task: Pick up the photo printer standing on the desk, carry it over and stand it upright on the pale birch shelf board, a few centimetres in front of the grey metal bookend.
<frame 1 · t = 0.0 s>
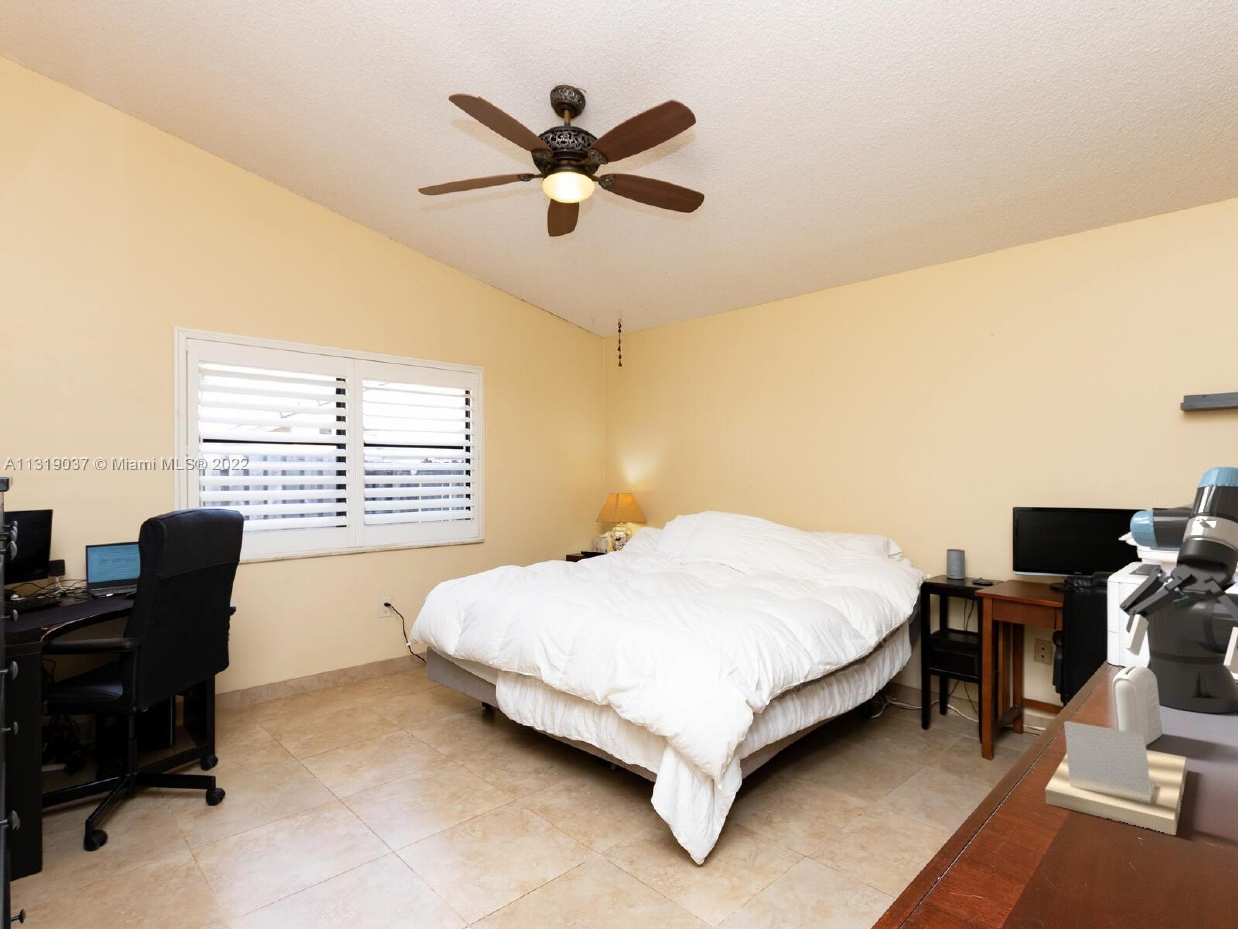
hand: (1178, 660, 104), 15 cm above the table, tool tilted 35°, fingers open, 13 cm apart
bookend: (1111, 807, 89), resting on shelf board
shelf board: (1119, 786, 94), on the table
photo printer: (1140, 740, 110), on the table
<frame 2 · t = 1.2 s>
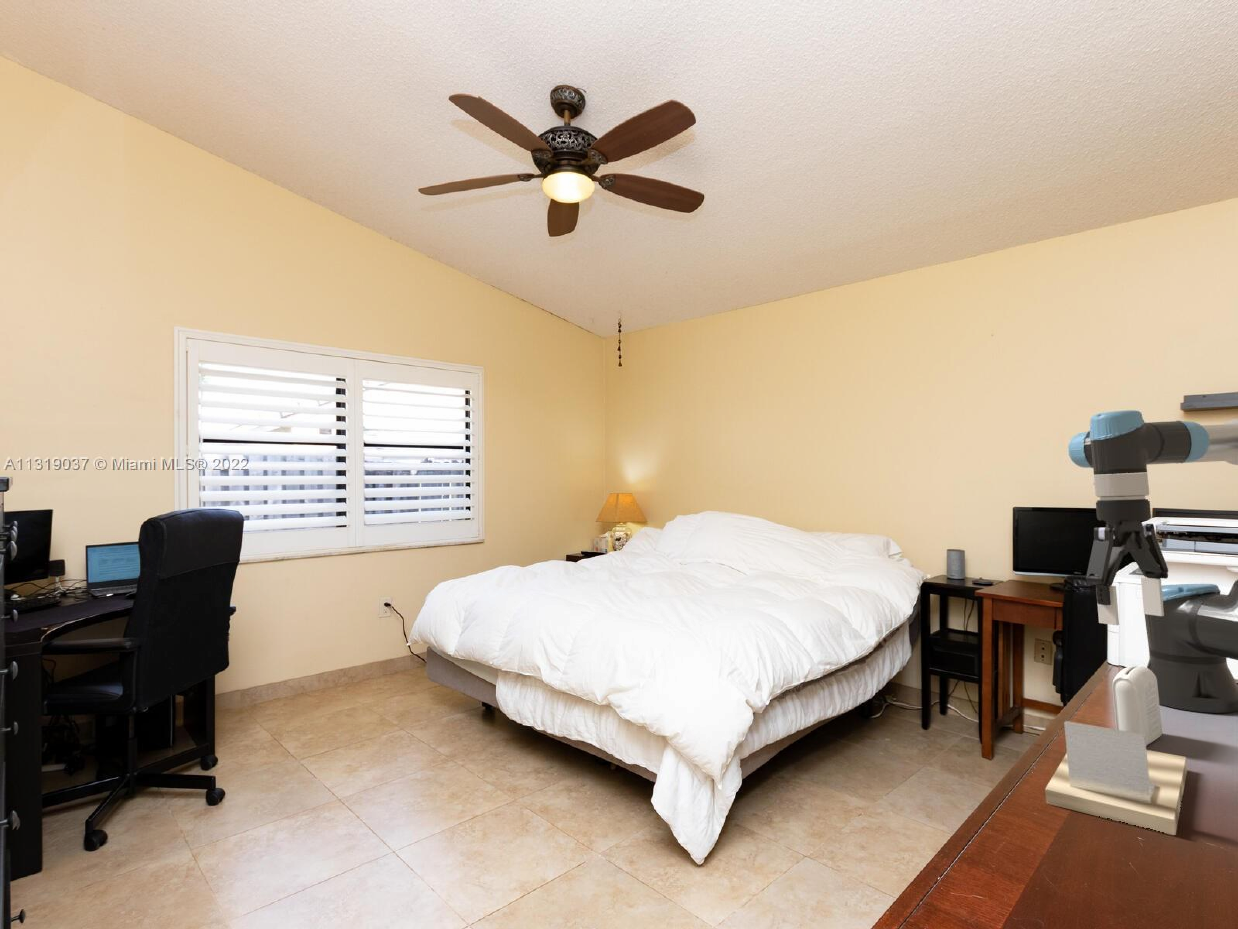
hand: (1132, 619, 111), 21 cm above the table, tool pointing down, fingers open, 13 cm apart
nothing on the table moved.
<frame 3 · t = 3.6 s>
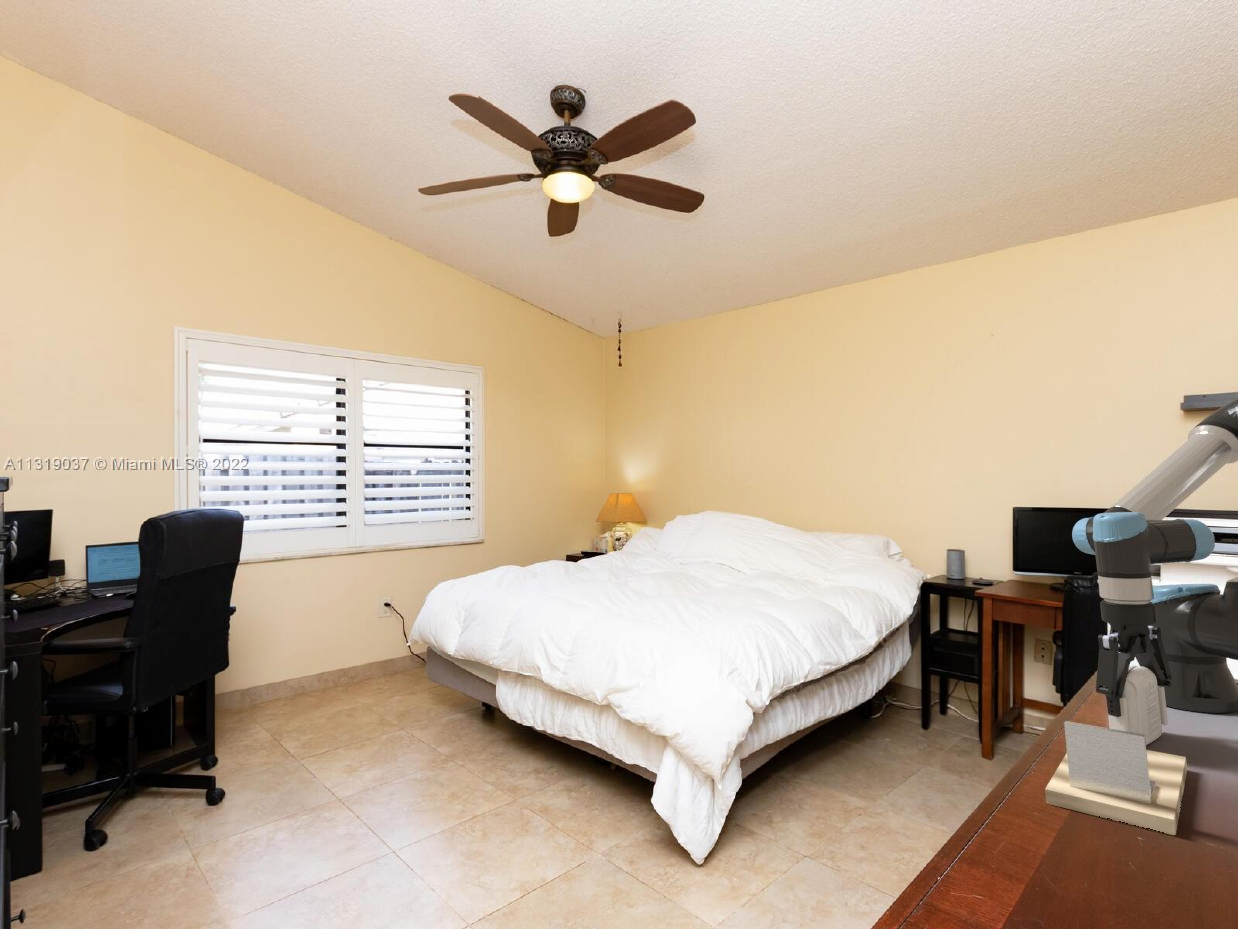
hand: (1139, 728, 110), 2 cm above the table, tool pointing down, fingers closed on photo printer, 10 cm apart
photo printer: (1140, 740, 110), on the table, touching gripper
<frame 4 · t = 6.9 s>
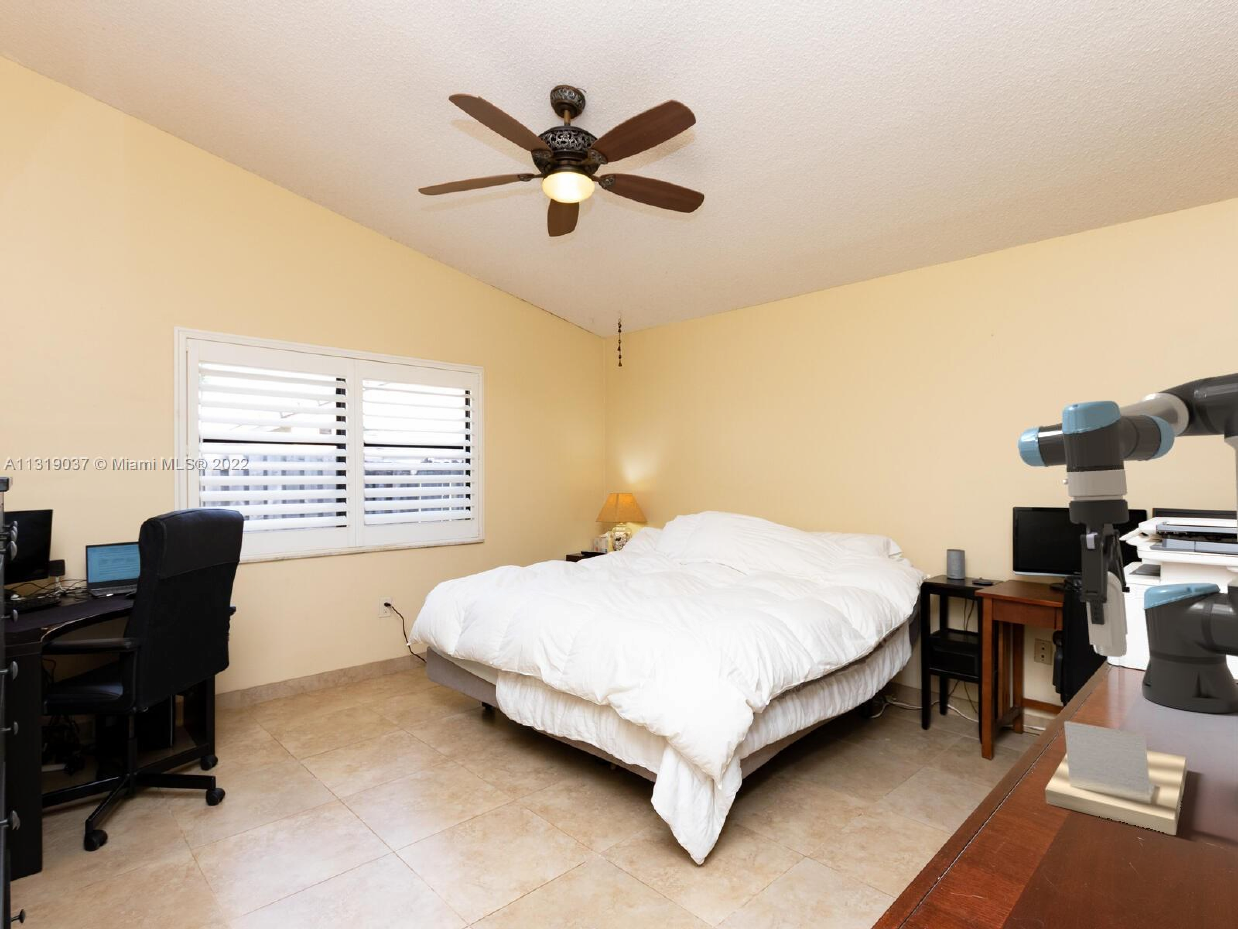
hand: (1109, 639, 100), 21 cm above the table, tool pointing down, fingers closed on photo printer, 10 cm apart
photo printer: (1110, 651, 100), point 19 cm above the table, touching gripper
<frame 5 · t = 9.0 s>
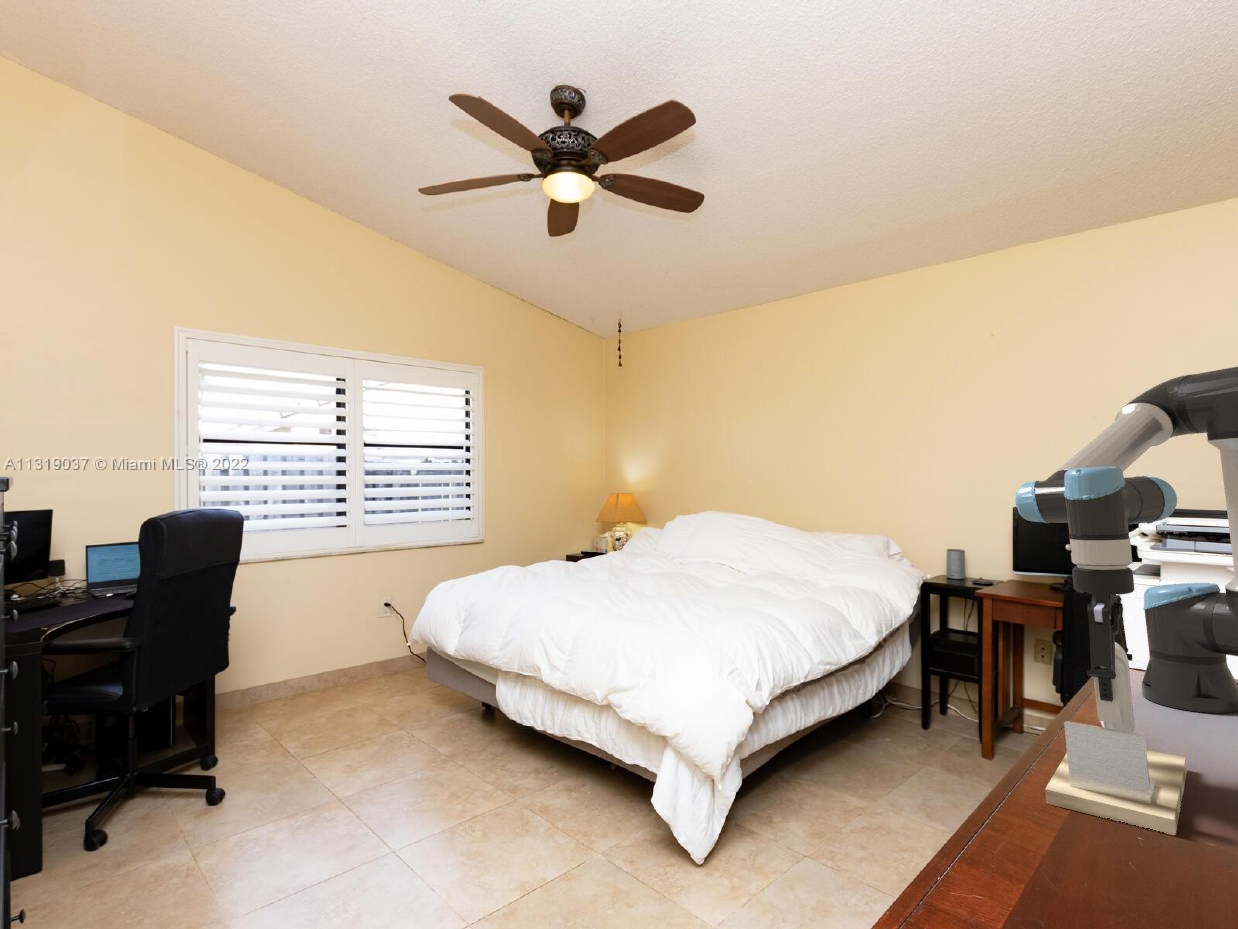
hand: (1115, 711, 97), 10 cm above the table, tool pointing down, fingers closed on photo printer, 10 cm apart
photo printer: (1115, 724, 97), point 8 cm above the table, touching gripper
when the fingers open (5 cm above the table, at t = 10.6 s): photo printer drops 1 cm, resting on shelf board.
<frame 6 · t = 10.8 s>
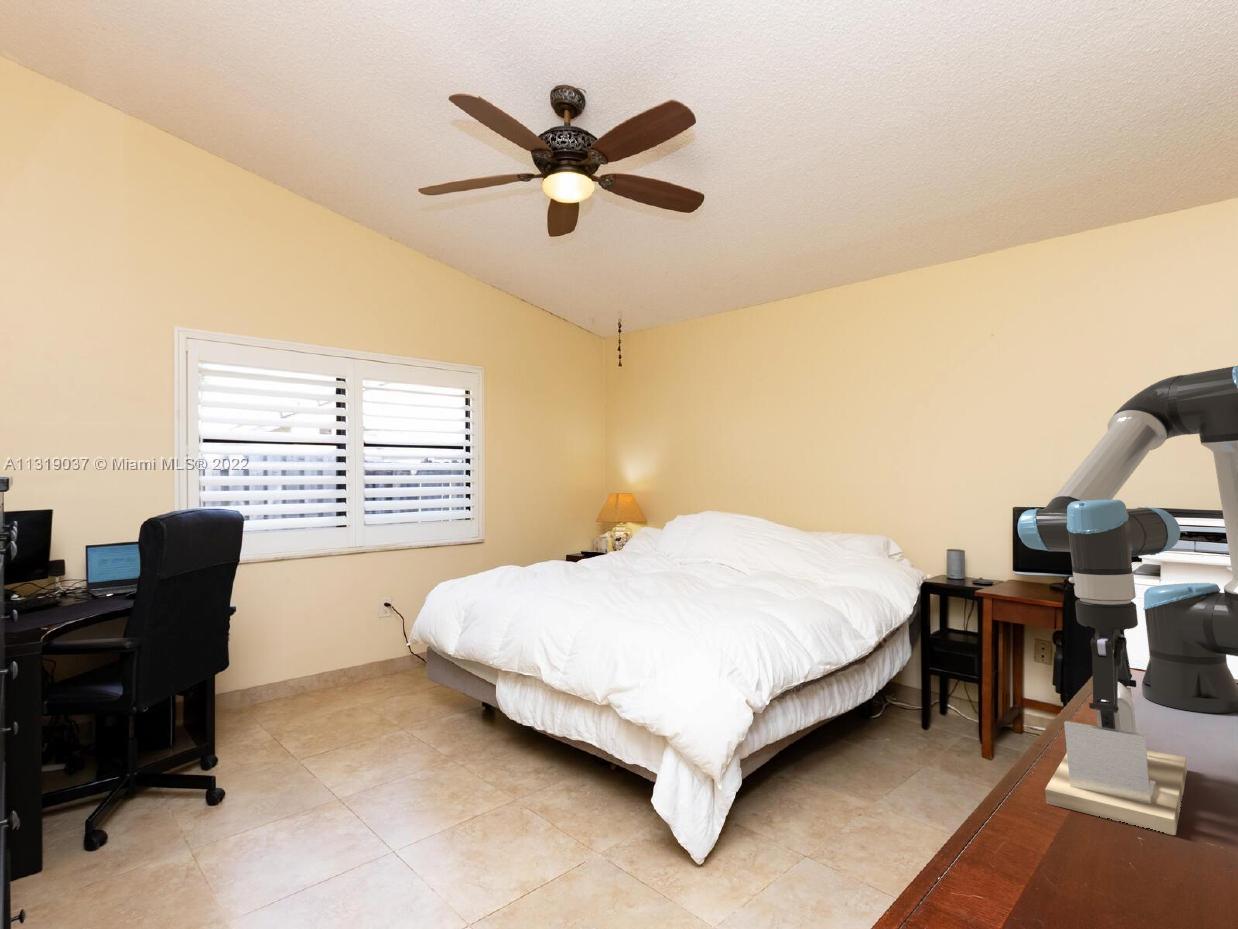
hand: (1118, 741, 97), 6 cm above the table, tool pointing down, fingers open, 12 cm apart
photo printer: (1121, 766, 97), point 2 cm above the table, touching shelf board
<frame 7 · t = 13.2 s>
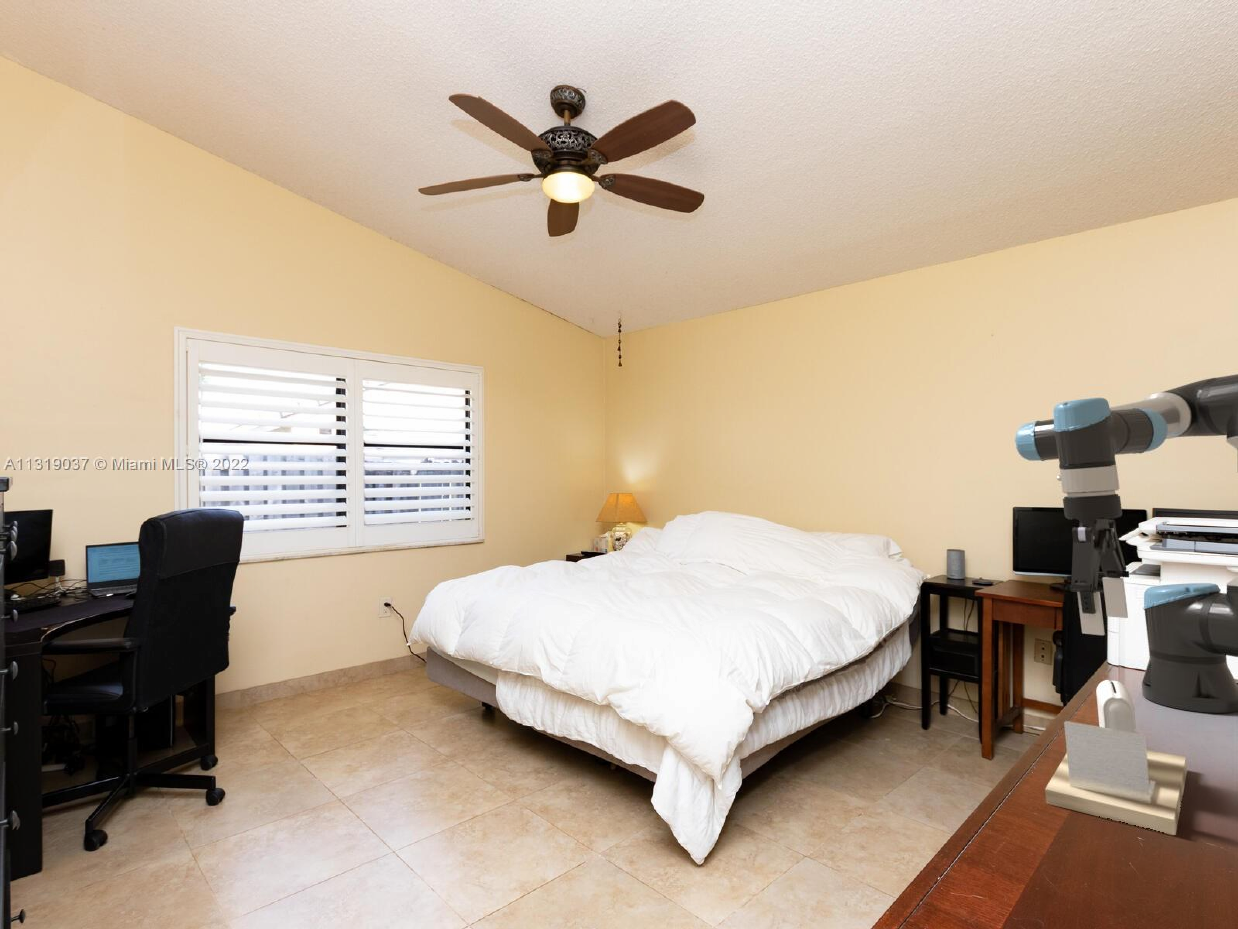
hand: (1105, 625, 102), 22 cm above the table, tool pointing down, fingers open, 13 cm apart
nothing on the table moved.
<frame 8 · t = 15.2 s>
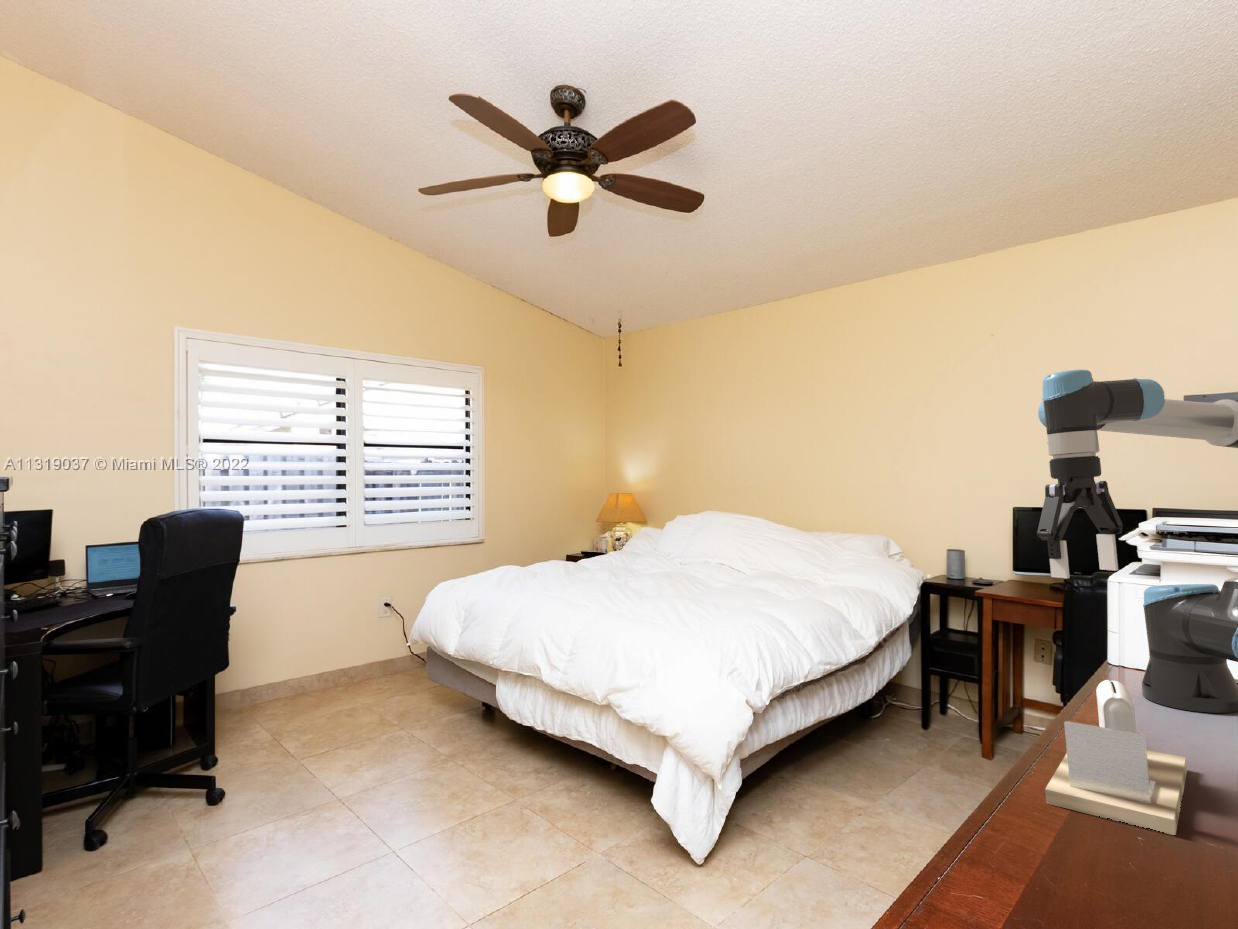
hand: (1085, 573, 114), 29 cm above the table, tool pointing down, fingers open, 13 cm apart
nothing on the table moved.
at the end: photo printer 0.6 cm from the target spot, point 1.8 cm above the table; photo printer tilted 0°; the gripper is holding nothing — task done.
